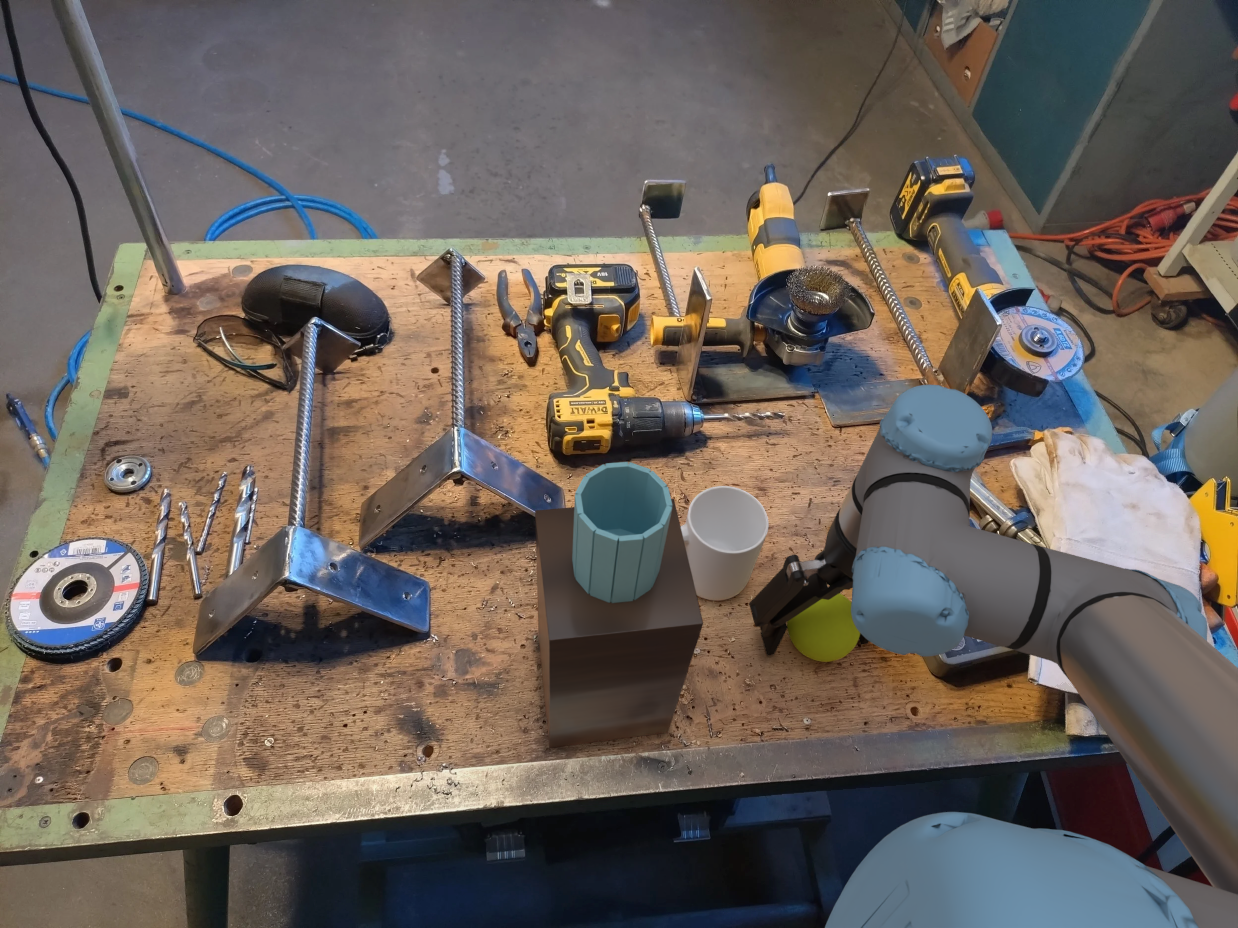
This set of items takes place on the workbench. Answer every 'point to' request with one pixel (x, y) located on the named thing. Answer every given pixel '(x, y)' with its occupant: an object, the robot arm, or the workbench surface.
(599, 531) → the tumbler
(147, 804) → the workbench surface
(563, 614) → the dark brown block
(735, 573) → the mug
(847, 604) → the ball
